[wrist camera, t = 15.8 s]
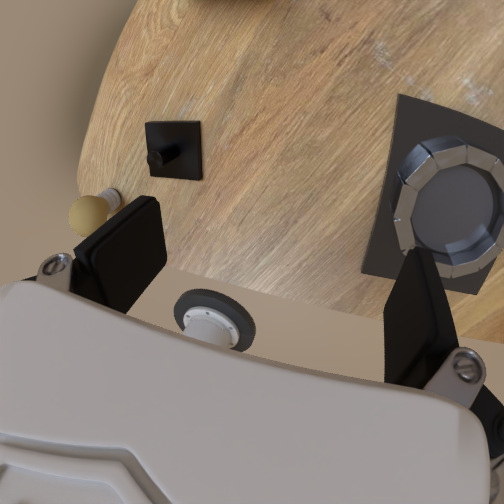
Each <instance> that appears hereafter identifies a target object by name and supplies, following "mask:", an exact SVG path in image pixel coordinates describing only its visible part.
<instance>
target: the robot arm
mask: <svg viewBox="0 0 504 504" xmlns="http://www.w3.org/2000/svg"><path fill="white" fill-rule="evenodd" d="M73 250H74V253H75V256H76V258H75V259H74V260H73V259H72V257H71V255H69V254H67V253H59V254H55V255H52V256H51V257H49V258H48V259H46V260H45V261H44V262H43V263H42V264H41V265H40V268H39V270H38V274H37V276H33V277H30V278H27V279H24V280H21V281H14V282H10V283H8V284H6V285H4V286H3V287H1V288H0V504H504V406H503V405H502V403H501V402H500V401H499V400H498V399H497V398H496V397H495V396H494V395H493V394H492V393H491V391H490V390H488V388H487V387H486V386H485V385H484V384H483V383H484V381H485V378H486V367H485V364H484V362H483V360H482V358H481V357H480V356H479V355H478V354H477V352H475V351H474V350H472V349H470V348H467V347H459V343H458V339H457V334H456V330H455V326H454V322H453V318H452V314H451V310H450V307H449V303H448V300H447V296H446V293H445V290H444V287H443V284H442V281H441V278H440V275H439V272H438V269H437V266H436V263H435V260H434V257H433V254H432V252H431V250H430V249H427V248H423V247H418V246H415V247H414V248H413V249H409V250H408V252H407V255H406V257H405V260H404V262H403V265H402V267H401V270H400V272H399V275H398V277H397V279H396V282H395V284H394V286H393V288H392V291H391V293H390V295H389V297H388V300H387V302H386V304H385V307H384V312H383V317H384V346H385V347H384V348H385V374H384V375H385V377H384V383H383V382H377V381H371V380H364V379H359V378H353V377H348V376H343V375H338V374H333V373H327V372H322V371H317V370H312V369H307V368H303V367H298V366H294V365H290V364H286V363H281V362H277V361H273V360H269V359H265V358H261V357H257V356H254V355H250V354H246V353H242V352H239V351H235V350H231V349H229V348H232V347H234V346H235V345H236V344H237V342H238V340H239V337H240V333H239V330H238V328H237V326H236V325H235V323H234V322H233V321H232V320H231V319H230V318H229V317H227V316H226V315H225V314H223V313H221V312H219V311H217V310H215V309H212V308H209V307H203V306H197V307H192V308H190V309H189V310H188V311H187V312H186V313H185V315H184V318H183V321H184V325H185V327H186V328H185V329H184V331H183V333H182V334H179V333H176V332H173V331H170V330H167V329H164V328H162V327H159V326H156V325H153V324H150V323H147V322H145V321H142V320H139V319H137V318H134V317H131V316H129V315H126V313H127V312H128V311H129V309H130V308H131V307H132V305H133V304H134V303H135V302H136V300H137V299H138V298H139V297H140V295H141V294H142V293H143V292H144V290H145V289H146V288H147V287H148V285H149V284H150V283H151V282H152V281H153V279H154V278H155V277H156V276H157V274H158V273H159V272H160V271H161V270H162V268H163V267H164V266H165V264H166V262H167V252H166V245H165V239H164V232H163V225H162V218H161V210H160V204H159V202H158V201H157V200H156V198H155V197H151V196H144V195H141V196H139V197H138V198H136V199H135V200H134V201H132V202H131V203H130V204H128V205H127V206H126V207H124V208H123V209H122V210H121V211H119V212H118V213H117V214H115V215H114V216H113V217H112V218H110V219H109V220H108V221H107V222H105V223H104V224H103V225H102V226H100V227H99V228H98V229H97V230H96V231H94V232H93V233H92V234H91V235H90V236H88V237H87V238H86V239H85V240H84V241H82V242H81V243H80V244H79V245H78V246H77V247H75V248H74V249H73Z"/></svg>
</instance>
